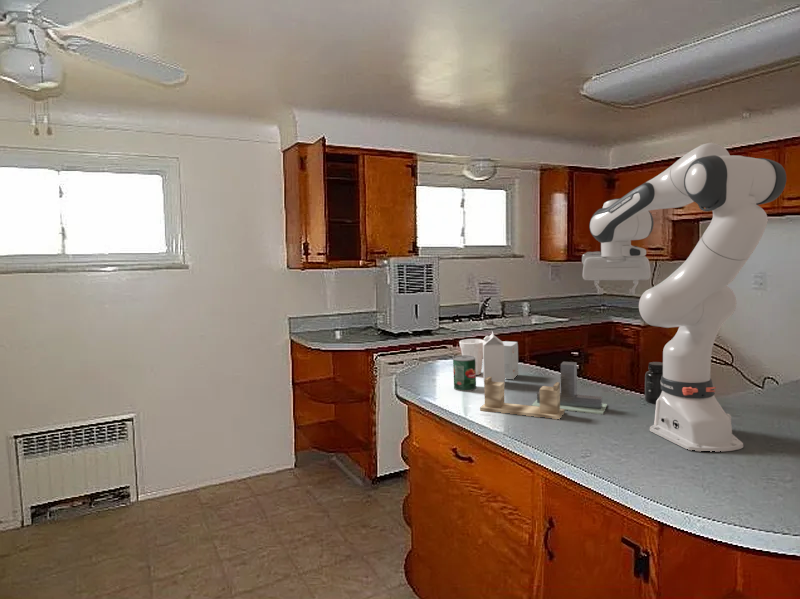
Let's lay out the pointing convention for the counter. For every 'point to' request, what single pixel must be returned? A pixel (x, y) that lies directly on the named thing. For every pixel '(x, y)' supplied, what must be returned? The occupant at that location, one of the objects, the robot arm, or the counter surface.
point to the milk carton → (493, 358)
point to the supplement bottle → (653, 382)
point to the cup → (473, 351)
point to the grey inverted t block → (574, 389)
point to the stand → (546, 409)
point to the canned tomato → (464, 373)
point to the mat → (579, 408)
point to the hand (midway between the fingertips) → (615, 294)
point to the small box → (510, 359)
